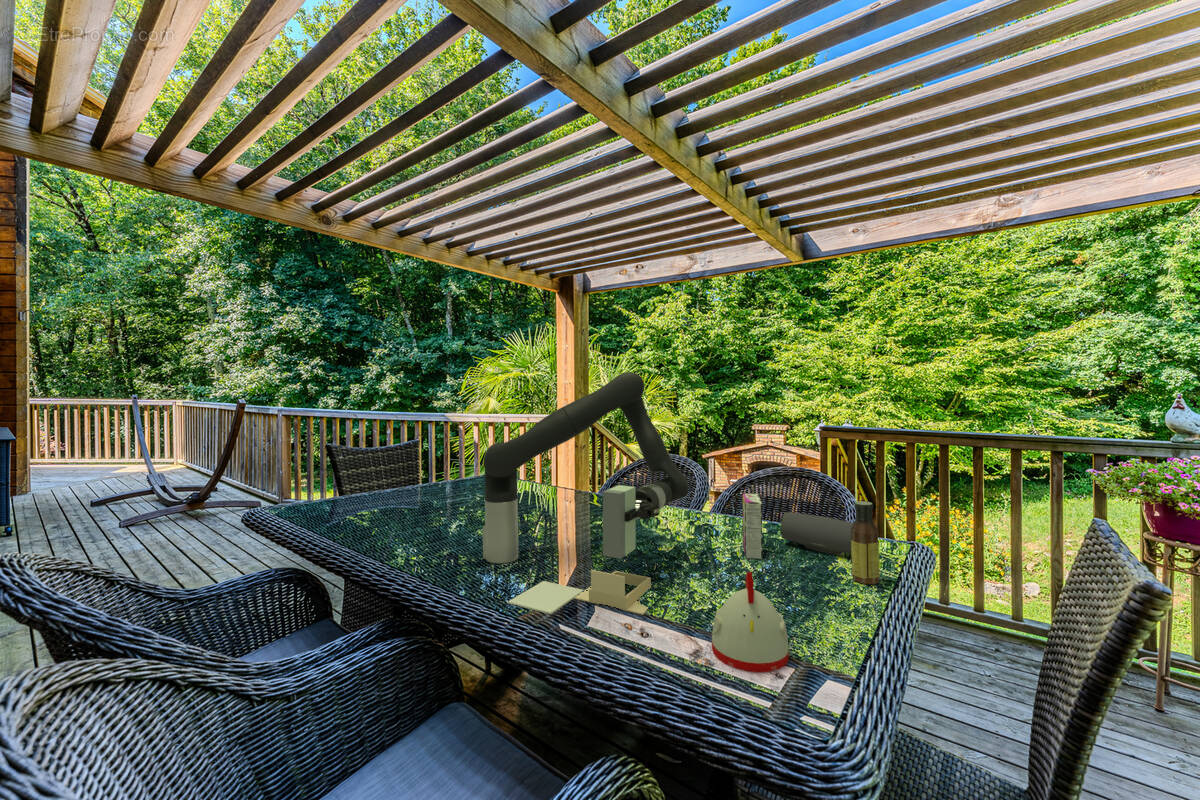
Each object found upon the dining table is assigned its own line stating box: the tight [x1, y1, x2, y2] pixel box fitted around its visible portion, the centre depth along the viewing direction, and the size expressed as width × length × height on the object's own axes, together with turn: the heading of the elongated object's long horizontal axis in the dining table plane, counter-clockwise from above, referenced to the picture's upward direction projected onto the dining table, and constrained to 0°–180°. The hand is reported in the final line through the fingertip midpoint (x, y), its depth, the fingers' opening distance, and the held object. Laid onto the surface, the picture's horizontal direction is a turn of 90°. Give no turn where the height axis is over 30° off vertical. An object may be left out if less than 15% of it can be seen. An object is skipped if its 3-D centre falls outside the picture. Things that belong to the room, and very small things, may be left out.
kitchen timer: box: [711, 571, 789, 673], centre depth 99 cm, size 14×14×15 cm
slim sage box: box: [602, 484, 637, 560], centre depth 124 cm, size 4×8×15 cm, turn 150°
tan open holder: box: [573, 569, 652, 616], centre depth 127 cm, size 18×17×8 cm
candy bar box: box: [741, 492, 763, 560], centre depth 154 cm, size 11×5×16 cm, turn 168°
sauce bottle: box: [850, 500, 881, 585], centre depth 132 cm, size 6×6×20 cm
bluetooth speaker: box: [779, 512, 854, 556], centre depth 156 cm, size 23×9×10 cm, turn 47°
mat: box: [507, 580, 585, 615], centre depth 125 cm, size 12×14×1 cm
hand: (616, 516), depth 123 cm, fingers closed on slim sage box, 4 cm apart
